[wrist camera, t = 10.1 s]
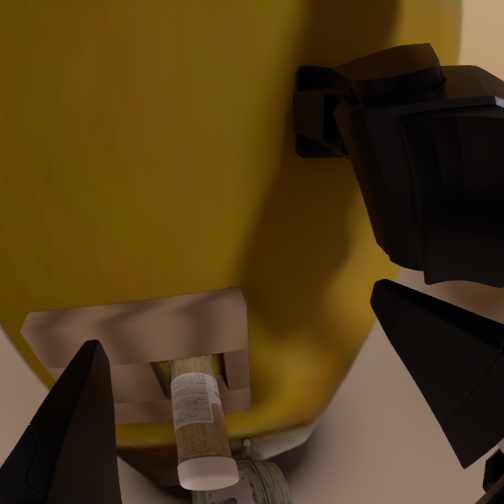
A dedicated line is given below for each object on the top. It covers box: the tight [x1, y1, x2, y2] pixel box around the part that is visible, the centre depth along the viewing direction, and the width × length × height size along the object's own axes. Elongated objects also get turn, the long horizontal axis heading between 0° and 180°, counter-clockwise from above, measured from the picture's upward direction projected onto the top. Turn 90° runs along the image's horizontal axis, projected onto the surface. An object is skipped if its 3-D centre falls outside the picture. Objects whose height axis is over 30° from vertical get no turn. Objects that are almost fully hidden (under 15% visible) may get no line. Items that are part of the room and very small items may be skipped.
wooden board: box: [20, 287, 251, 424], centre depth 26 cm, size 20×17×2 cm
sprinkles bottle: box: [169, 354, 239, 490], centre depth 22 cm, size 5×5×13 cm
